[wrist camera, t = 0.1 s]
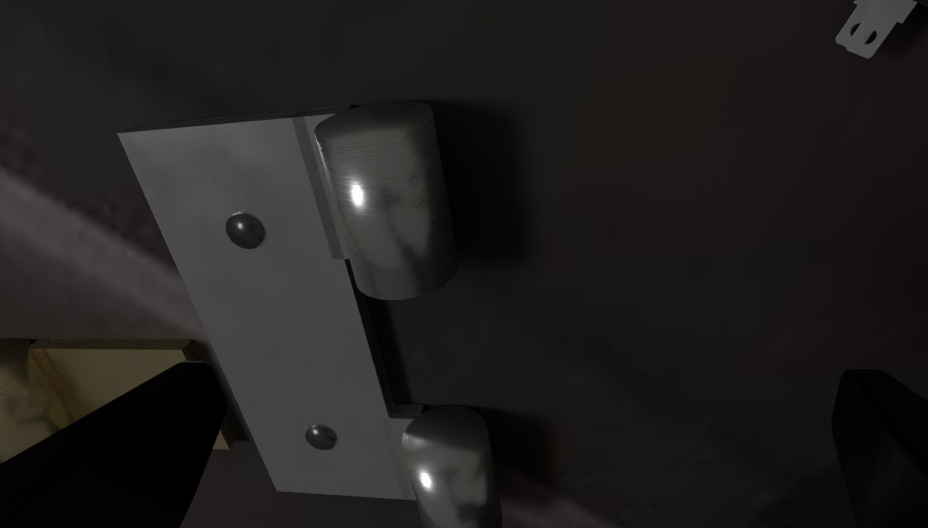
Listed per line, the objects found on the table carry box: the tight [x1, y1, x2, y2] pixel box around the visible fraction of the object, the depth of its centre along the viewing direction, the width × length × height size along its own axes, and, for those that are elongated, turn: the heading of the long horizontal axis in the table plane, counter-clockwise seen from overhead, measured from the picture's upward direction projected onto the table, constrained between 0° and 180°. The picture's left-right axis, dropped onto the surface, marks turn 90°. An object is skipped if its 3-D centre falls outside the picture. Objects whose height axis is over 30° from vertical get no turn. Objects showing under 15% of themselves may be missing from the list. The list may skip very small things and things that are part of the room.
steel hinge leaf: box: [117, 100, 503, 528], centre depth 27 cm, size 21×13×4 cm, turn 8°
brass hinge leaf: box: [0, 338, 237, 462], centre depth 33 cm, size 7×13×4 cm, turn 98°
